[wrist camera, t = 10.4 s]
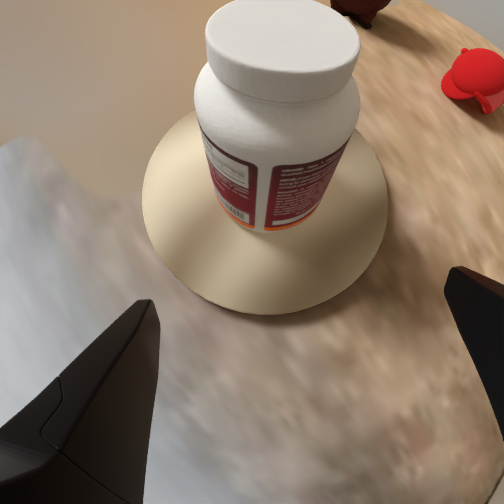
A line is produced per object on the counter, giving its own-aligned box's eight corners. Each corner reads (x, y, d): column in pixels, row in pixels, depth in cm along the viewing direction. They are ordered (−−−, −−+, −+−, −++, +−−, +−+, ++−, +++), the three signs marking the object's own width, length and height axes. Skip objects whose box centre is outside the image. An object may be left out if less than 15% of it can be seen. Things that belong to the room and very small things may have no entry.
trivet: (417, 190, 19) (424, 182, 18) (279, 369, 17) (281, 372, 15) (255, 74, 22) (256, 63, 21) (104, 203, 19) (97, 196, 18)
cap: (484, 54, 21) (463, 22, 18) (525, 83, 18) (510, 50, 14) (449, 102, 26) (423, 76, 23) (485, 135, 23) (466, 110, 20)
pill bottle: (322, 149, 19) (374, 2, 8) (317, 243, 17) (404, 118, 6) (223, 137, 19) (207, -18, 8) (205, 228, 17) (151, 86, 7)
